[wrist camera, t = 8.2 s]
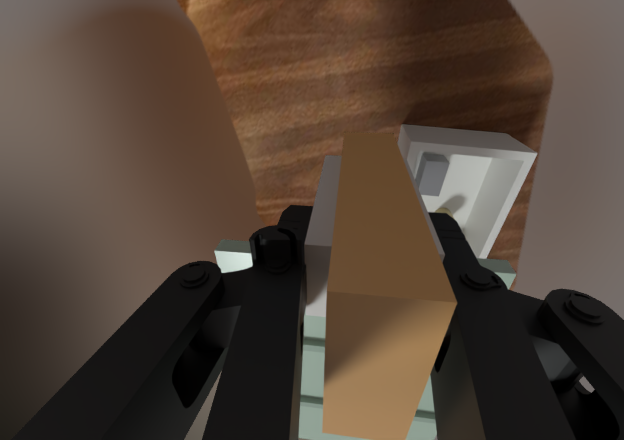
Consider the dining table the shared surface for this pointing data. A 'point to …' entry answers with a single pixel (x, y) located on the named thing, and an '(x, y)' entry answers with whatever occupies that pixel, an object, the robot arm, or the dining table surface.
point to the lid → (373, 305)
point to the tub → (467, 176)
